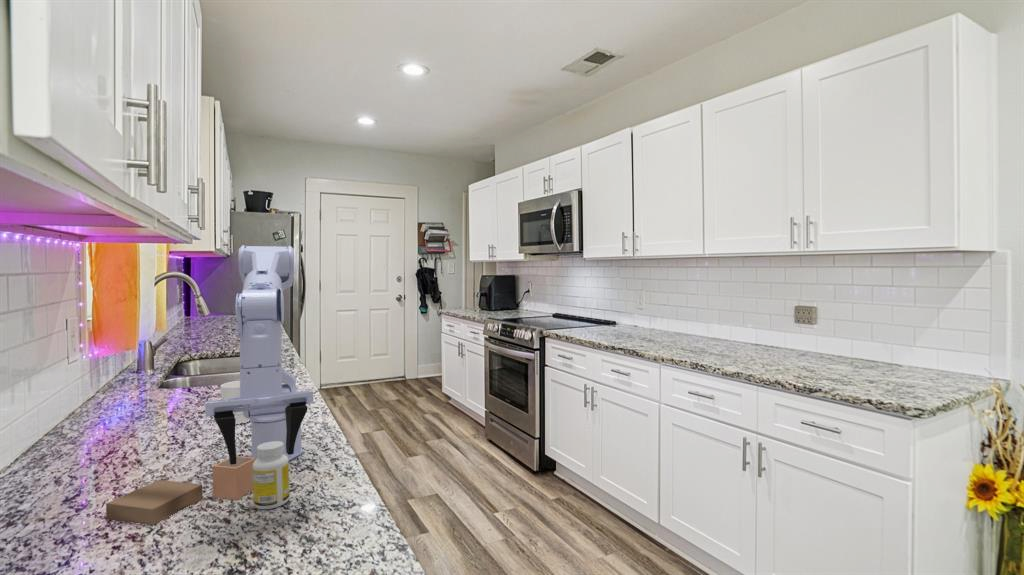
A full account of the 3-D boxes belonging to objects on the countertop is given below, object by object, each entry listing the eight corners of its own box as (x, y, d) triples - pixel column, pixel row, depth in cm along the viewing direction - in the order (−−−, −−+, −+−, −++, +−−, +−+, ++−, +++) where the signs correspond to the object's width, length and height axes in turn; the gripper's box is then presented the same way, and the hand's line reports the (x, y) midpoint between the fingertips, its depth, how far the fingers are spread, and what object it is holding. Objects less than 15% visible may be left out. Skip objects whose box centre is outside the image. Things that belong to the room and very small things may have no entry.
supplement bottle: (280, 492, 86) (279, 437, 86) (295, 501, 82) (294, 444, 82) (247, 503, 82) (246, 445, 81) (262, 513, 78) (261, 453, 78)
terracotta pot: (234, 485, 89) (234, 455, 89) (257, 488, 88) (256, 457, 88) (213, 497, 84) (212, 465, 84) (236, 500, 83) (236, 468, 83)
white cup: (242, 427, 123) (241, 387, 122) (214, 425, 124) (213, 386, 123) (262, 418, 130) (262, 380, 130) (236, 416, 132) (235, 379, 131)
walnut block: (159, 496, 85) (159, 479, 85) (202, 501, 83) (202, 484, 83) (106, 522, 77) (106, 503, 77) (152, 528, 75) (152, 509, 75)
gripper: (206, 372, 67) (206, 473, 66) (317, 363, 76) (319, 453, 74) (204, 370, 73) (204, 464, 72) (307, 362, 81) (308, 446, 80)
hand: (262, 458), depth 73 cm, fingers open, 7 cm apart
